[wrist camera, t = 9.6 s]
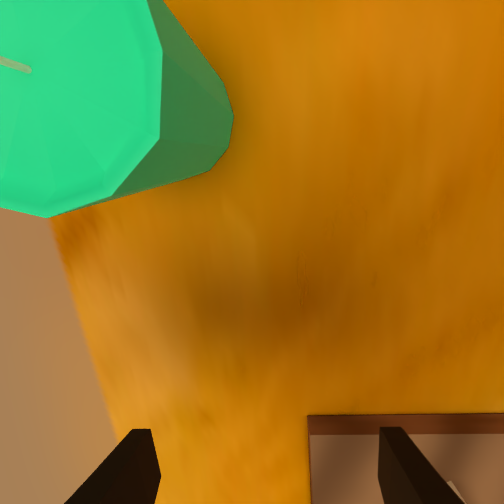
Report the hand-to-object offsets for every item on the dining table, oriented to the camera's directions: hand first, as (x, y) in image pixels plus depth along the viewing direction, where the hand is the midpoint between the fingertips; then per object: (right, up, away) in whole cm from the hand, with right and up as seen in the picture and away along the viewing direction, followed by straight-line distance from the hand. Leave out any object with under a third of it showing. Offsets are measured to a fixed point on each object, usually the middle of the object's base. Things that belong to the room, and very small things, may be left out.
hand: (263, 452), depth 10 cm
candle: (-4, +13, +6) cm, 15 cm away
